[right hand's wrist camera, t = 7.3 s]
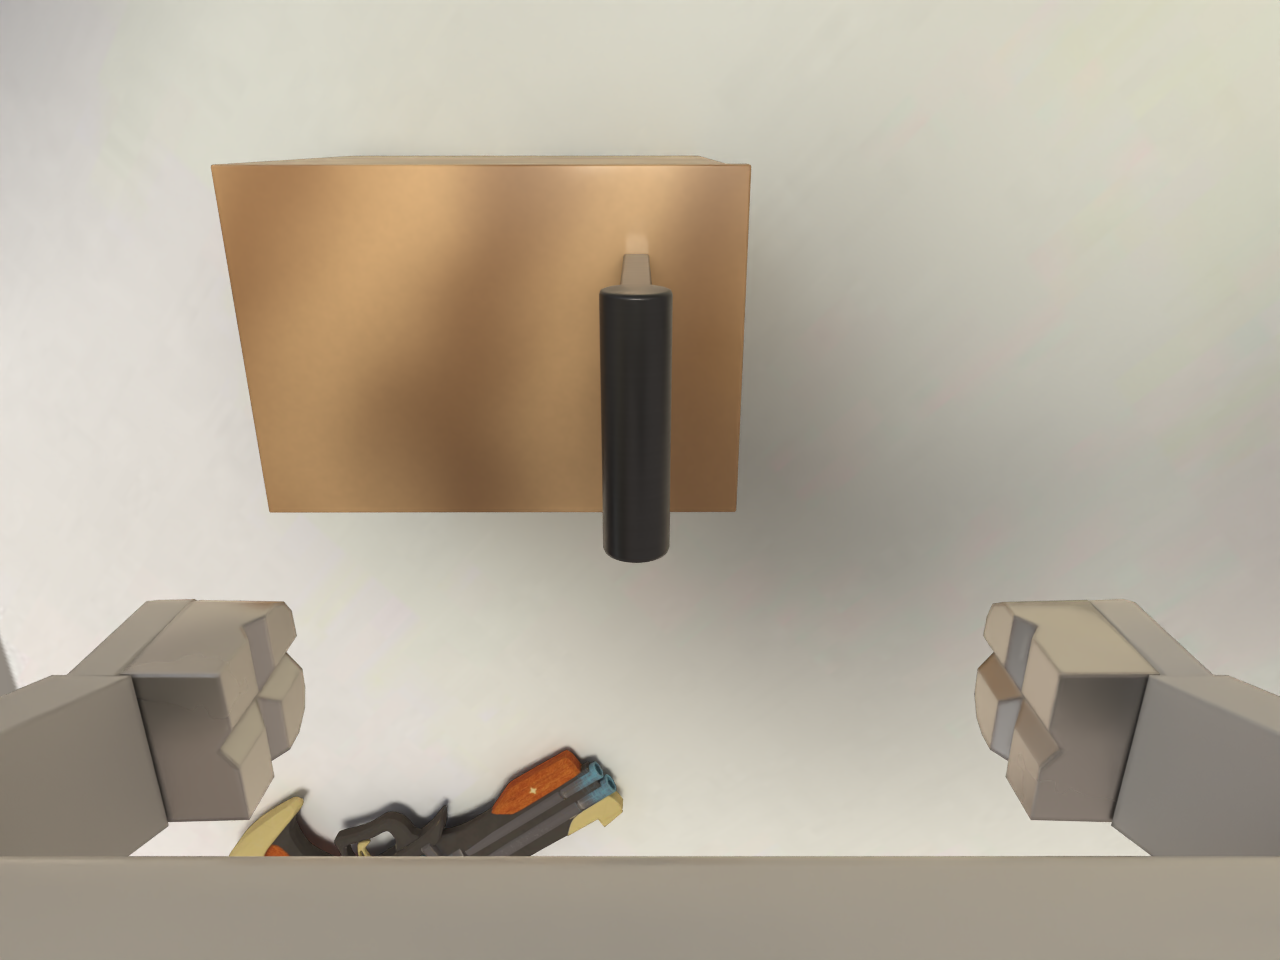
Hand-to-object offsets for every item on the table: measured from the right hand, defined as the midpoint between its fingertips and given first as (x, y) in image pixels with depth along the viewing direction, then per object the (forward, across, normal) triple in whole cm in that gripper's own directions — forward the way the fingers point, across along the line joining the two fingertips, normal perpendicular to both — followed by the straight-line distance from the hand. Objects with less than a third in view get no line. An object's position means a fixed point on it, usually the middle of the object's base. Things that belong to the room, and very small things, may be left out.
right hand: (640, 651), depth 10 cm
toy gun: (+28, +11, +27) cm, 40 cm away
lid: (+16, +4, 0) cm, 17 cm away
